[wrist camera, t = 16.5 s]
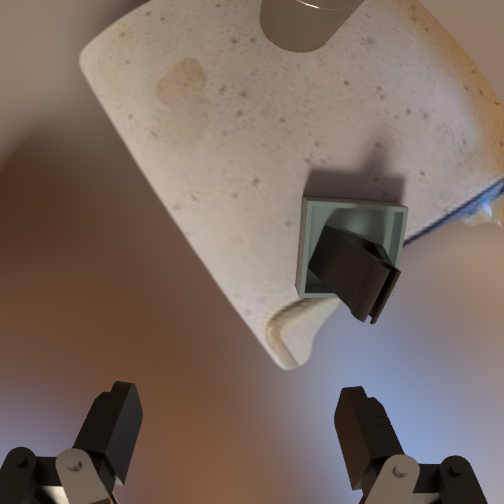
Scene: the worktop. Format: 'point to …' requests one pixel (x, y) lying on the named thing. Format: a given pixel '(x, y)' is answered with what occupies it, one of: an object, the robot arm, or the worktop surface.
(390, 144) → the worktop surface
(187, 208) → the worktop surface
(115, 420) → the robot arm
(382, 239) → the slate tray
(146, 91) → the worktop surface
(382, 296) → the phone stand
